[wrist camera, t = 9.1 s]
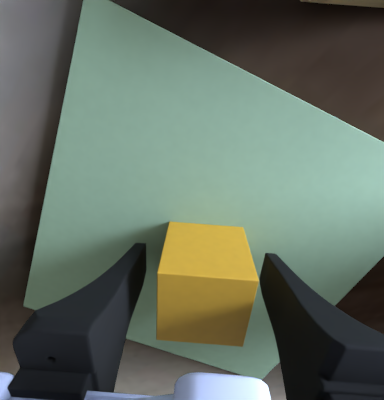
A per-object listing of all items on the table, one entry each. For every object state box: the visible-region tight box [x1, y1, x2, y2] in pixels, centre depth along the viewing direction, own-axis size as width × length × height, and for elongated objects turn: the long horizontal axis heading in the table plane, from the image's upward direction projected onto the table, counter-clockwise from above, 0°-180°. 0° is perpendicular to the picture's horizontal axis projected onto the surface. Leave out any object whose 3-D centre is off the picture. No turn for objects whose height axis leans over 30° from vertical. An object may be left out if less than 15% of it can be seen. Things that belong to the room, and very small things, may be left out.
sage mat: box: [23, 0, 384, 380], centre depth 15 cm, size 20×20×1 cm
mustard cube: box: [156, 222, 259, 347], centre depth 13 cm, size 4×4×4 cm
